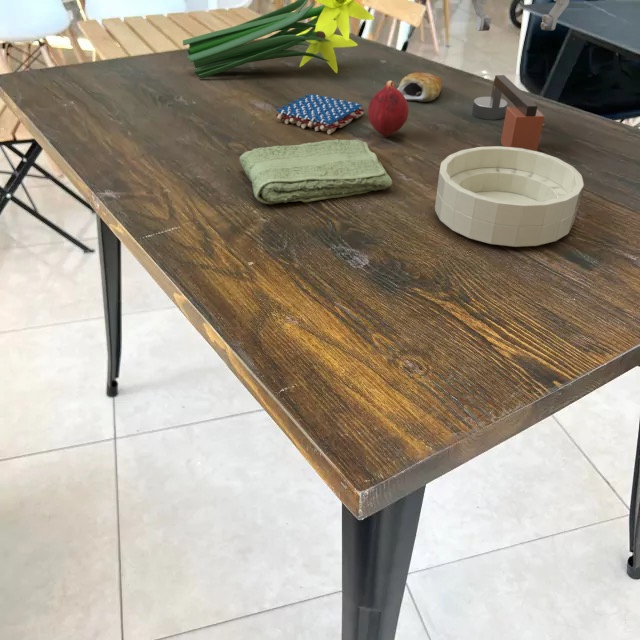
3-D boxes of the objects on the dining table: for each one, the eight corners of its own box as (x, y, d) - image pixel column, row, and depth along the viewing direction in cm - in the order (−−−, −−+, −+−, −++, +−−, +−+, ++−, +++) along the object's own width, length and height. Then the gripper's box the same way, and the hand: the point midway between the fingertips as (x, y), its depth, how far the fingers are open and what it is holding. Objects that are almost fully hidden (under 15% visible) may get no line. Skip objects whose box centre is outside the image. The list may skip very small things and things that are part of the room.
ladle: (468, 109, 105) (474, 66, 101) (499, 108, 106) (506, 65, 102) (505, 154, 91) (514, 106, 87) (541, 153, 91) (551, 105, 87)
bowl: (541, 185, 83) (551, 144, 79) (594, 248, 70) (608, 202, 67) (421, 190, 81) (426, 148, 78) (454, 254, 69) (461, 208, 66)
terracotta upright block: (526, 142, 94) (534, 106, 91) (536, 153, 91) (544, 116, 88) (500, 143, 94) (506, 106, 91) (509, 154, 91) (516, 116, 88)
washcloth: (396, 193, 81) (398, 168, 79) (257, 211, 77) (256, 186, 75) (361, 153, 91) (362, 130, 89) (237, 167, 87) (235, 144, 85)
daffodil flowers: (201, 62, 129) (372, 10, 125) (211, 121, 124) (389, 69, 120) (167, -5, 114) (360, -67, 110) (176, 60, 108) (379, -3, 104)
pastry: (414, 84, 116) (416, 61, 113) (450, 90, 113) (453, 67, 111) (393, 98, 109) (395, 75, 107) (430, 106, 107) (433, 82, 104)
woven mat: (331, 136, 96) (331, 123, 94) (273, 122, 100) (273, 109, 99) (366, 116, 103) (367, 103, 101) (311, 103, 107) (310, 91, 106)
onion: (408, 144, 93) (413, 87, 89) (368, 143, 93) (371, 87, 89) (403, 129, 98) (408, 75, 93) (365, 129, 98) (368, 75, 93)
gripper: (463, -84, 79) (448, 36, 87) (623, -83, 81) (593, 34, 89) (450, -90, 84) (437, 24, 92) (600, -88, 86) (574, 24, 94)
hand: (514, 29), depth 91 cm, fingers open, 8 cm apart
